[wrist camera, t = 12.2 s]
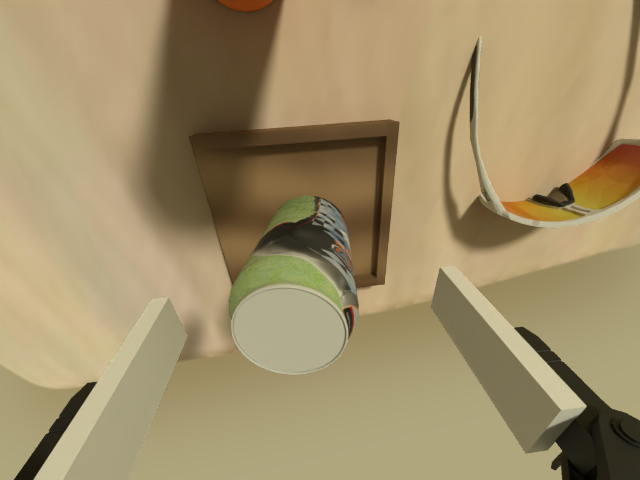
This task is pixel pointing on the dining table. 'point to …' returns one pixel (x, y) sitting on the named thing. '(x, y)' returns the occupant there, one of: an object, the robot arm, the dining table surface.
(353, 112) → the dining table surface
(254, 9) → the paper cup
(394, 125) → the far tray
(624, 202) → the sunglasses
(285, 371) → the beverage can
